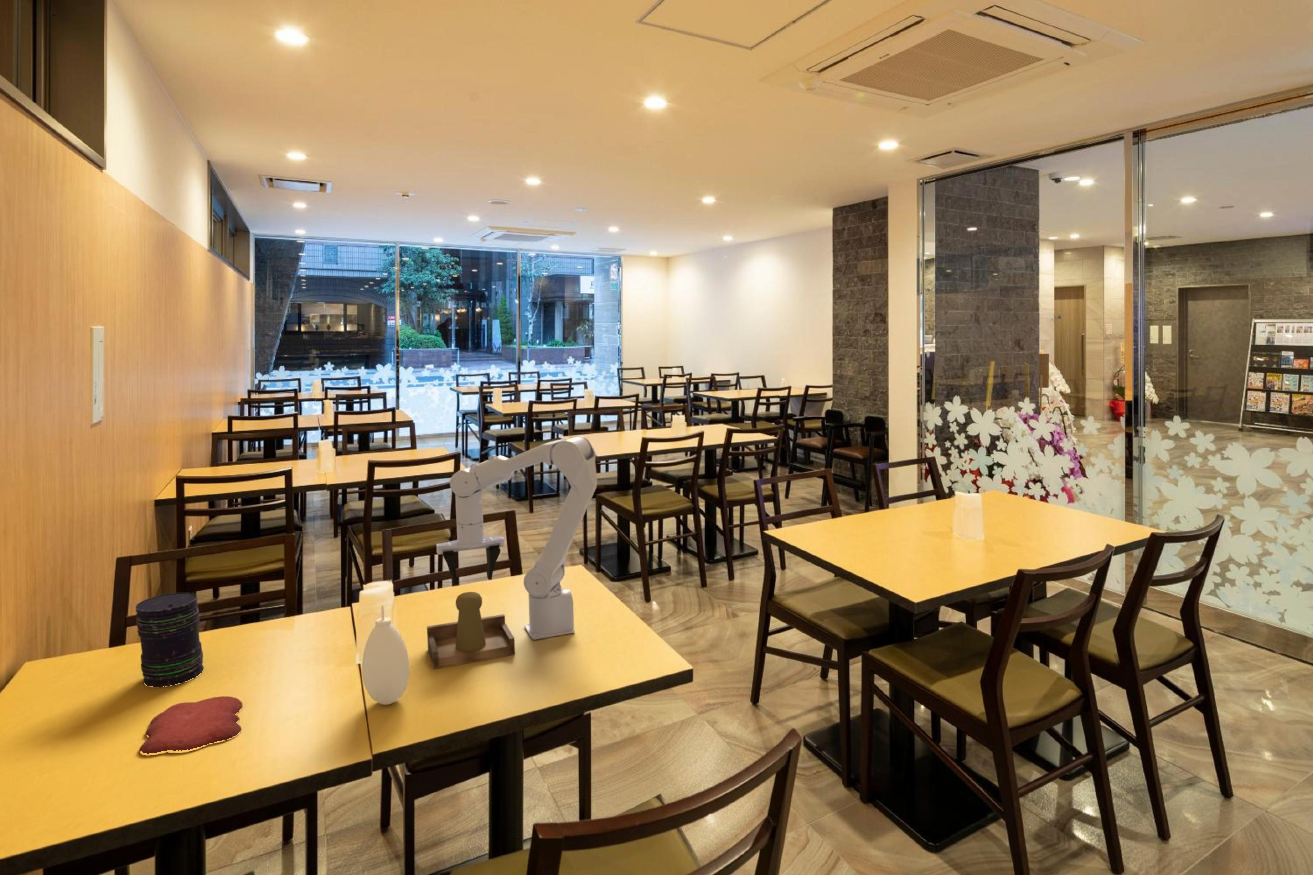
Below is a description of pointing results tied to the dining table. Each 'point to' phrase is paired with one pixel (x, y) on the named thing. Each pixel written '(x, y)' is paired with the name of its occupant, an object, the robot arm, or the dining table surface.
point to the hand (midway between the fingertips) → (472, 580)
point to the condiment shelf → (496, 646)
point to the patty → (193, 725)
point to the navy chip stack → (169, 639)
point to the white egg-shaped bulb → (385, 662)
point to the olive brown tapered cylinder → (469, 623)
